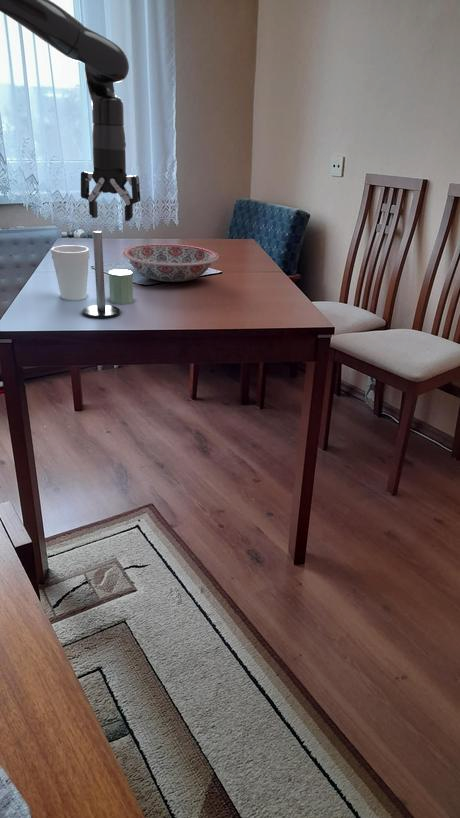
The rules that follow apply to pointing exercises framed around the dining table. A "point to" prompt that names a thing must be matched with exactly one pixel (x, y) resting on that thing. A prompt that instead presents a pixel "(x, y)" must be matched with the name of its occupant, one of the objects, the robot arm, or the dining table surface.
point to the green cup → (121, 286)
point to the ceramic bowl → (170, 261)
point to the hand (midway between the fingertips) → (111, 219)
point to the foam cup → (71, 270)
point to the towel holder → (100, 285)
